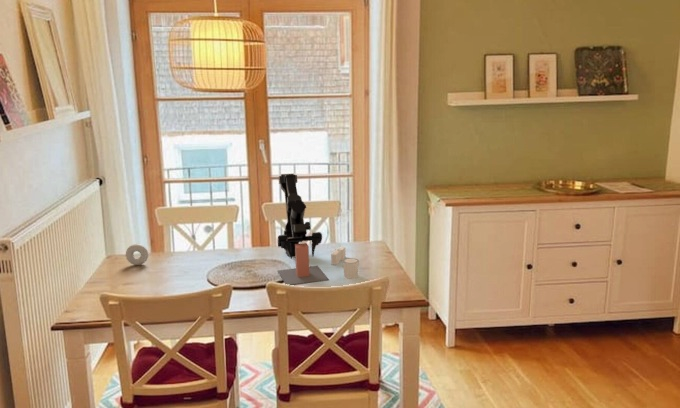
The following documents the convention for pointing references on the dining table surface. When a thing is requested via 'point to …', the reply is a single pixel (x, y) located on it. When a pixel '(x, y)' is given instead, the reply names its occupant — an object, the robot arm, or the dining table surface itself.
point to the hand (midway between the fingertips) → (302, 257)
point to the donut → (133, 259)
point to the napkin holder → (338, 255)
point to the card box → (302, 260)
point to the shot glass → (351, 268)
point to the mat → (292, 279)
